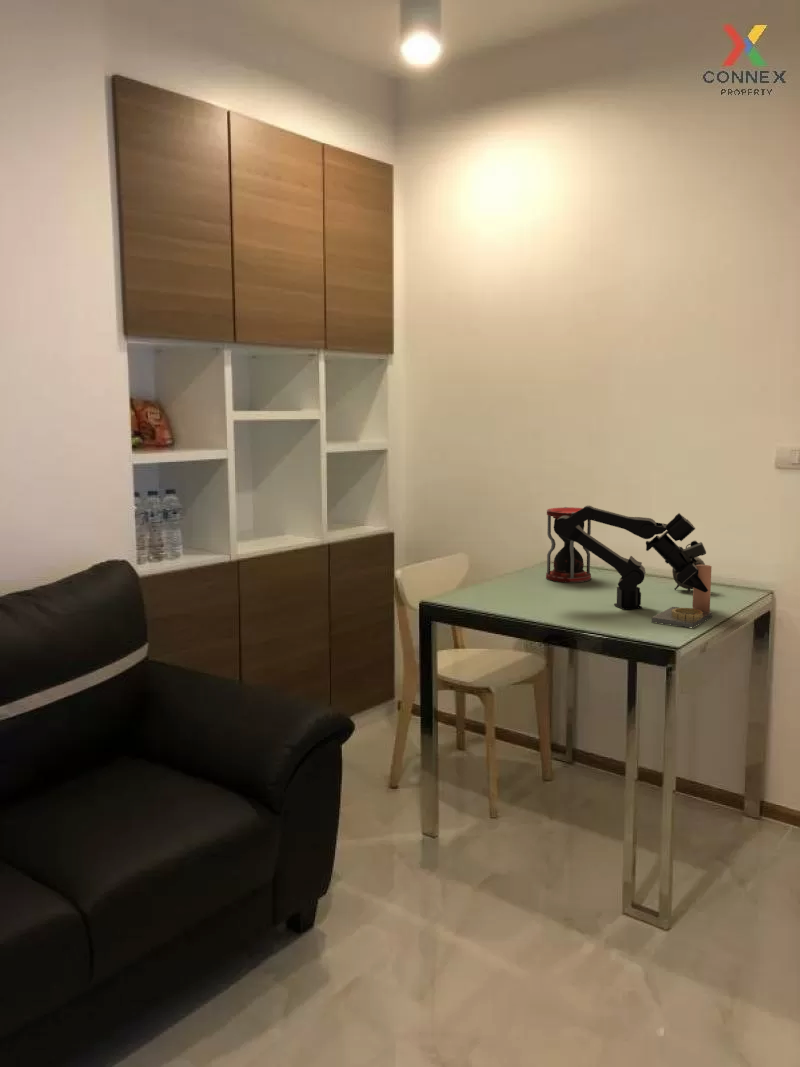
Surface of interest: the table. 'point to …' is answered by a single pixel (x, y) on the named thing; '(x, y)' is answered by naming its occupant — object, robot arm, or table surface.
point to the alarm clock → (682, 583)
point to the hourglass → (567, 553)
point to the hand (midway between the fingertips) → (706, 588)
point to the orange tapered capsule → (700, 597)
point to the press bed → (682, 616)
